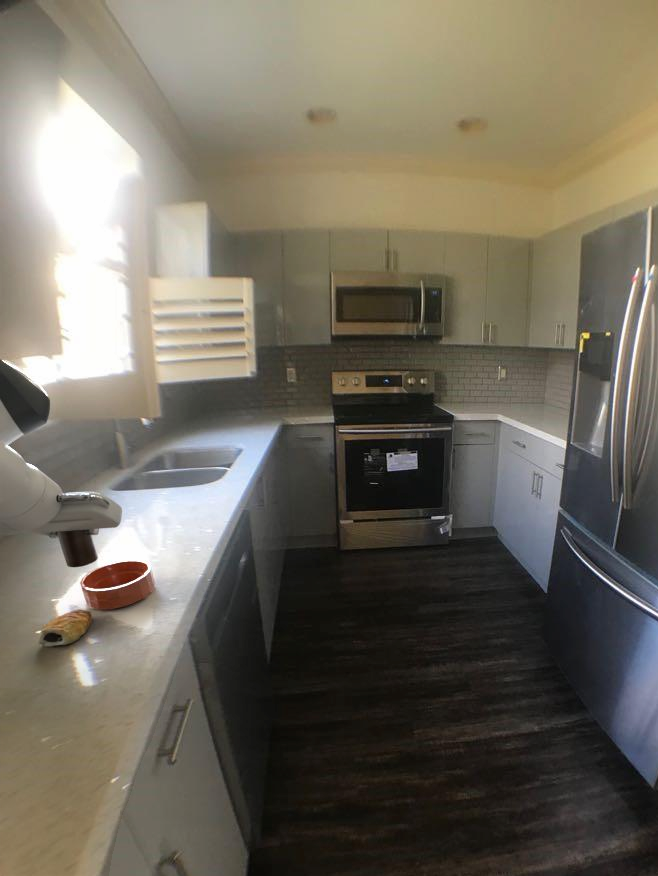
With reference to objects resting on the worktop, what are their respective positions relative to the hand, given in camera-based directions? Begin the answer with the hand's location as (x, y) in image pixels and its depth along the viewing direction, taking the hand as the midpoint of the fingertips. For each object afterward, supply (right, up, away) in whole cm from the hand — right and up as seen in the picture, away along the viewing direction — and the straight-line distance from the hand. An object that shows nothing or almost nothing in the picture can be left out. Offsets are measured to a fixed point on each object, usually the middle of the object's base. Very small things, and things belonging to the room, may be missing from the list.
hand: (76, 532), depth 81 cm
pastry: (-4, -19, +4) cm, 20 cm away
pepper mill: (0, -5, +1) cm, 5 cm away
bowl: (-1, -14, +17) cm, 22 cm away
